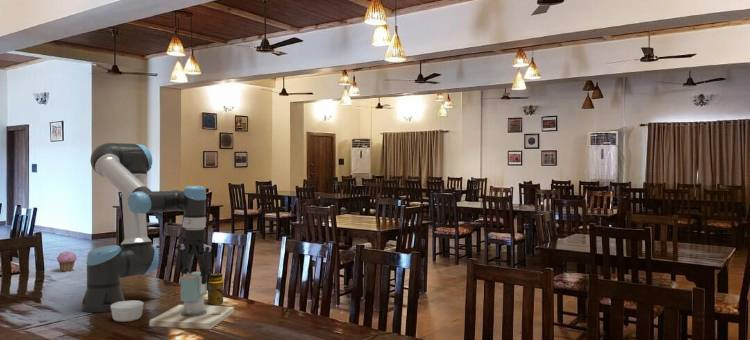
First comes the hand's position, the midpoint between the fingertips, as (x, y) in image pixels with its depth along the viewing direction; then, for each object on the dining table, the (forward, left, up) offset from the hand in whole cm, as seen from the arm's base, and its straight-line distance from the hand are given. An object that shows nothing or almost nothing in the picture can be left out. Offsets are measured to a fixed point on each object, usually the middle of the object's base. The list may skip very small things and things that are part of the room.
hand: (194, 291), depth 202 cm
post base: (0, 0, -10) cm, 10 cm away
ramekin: (-24, -3, -10) cm, 26 cm away
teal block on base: (0, 0, -7) cm, 7 cm away
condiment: (-2, +22, -10) cm, 24 cm away
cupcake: (-102, +72, -10) cm, 125 cm away
